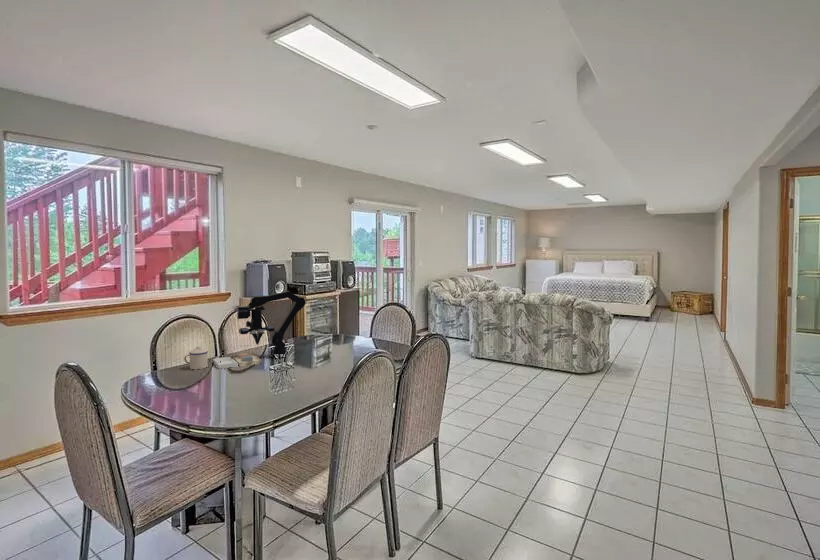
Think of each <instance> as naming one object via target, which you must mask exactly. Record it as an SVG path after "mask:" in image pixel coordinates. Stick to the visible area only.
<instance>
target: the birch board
mask: <svg viewBox="0 0 820 560" xmlns="http://www.w3.org/2000/svg"><path fill="white" fill-rule="evenodd" d="M250 355H251V356H252V357H253V361H246V362H243V361H242V360H241V359H240V358H238V356H233V357H232V359H233V360H235V361H236V362H237V363H238V365H239V366H241V367H247V366H246V365H248V366H254V364H255V365H261V364H260V363H262V364H263V361H262V359H261V358H259V356H257V355H256V354H250ZM239 366H238V367H239Z"/></svg>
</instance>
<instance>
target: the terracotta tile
mask: <svg viewBox="0 0 820 560" xmlns="http://www.w3.org/2000/svg"><path fill="white" fill-rule="evenodd" d="M249 355H250V354H249V353H248V352H242V353H237V357H238V358H240V359H241V356H249Z"/></svg>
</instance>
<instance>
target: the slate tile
mask: <svg viewBox="0 0 820 560" xmlns="http://www.w3.org/2000/svg"><path fill="white" fill-rule="evenodd" d="M251 355H252V354H249V356H241V360H242V361H243V362H246V361H253V357H252V356H251Z"/></svg>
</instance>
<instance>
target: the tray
mask: <svg viewBox="0 0 820 560" xmlns="http://www.w3.org/2000/svg"><path fill="white" fill-rule="evenodd" d="M231 357H232V356H224V357H217V358H215V357H214V358H212V359H213V360H212V363H213V362H214V363H213V365H214V364H215V365H216V366H217V367H218V368H219V369H218V368H217V367H216V366H215V365H214V366H215V367H216V368H217V369H218V370H221V369H220V368H226V369H230V368H229V367H233V368H239V366H238V363H237V362H236V361H235V360H233V358H231ZM220 361H221V363H220ZM218 362H219V363H218Z"/></svg>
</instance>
